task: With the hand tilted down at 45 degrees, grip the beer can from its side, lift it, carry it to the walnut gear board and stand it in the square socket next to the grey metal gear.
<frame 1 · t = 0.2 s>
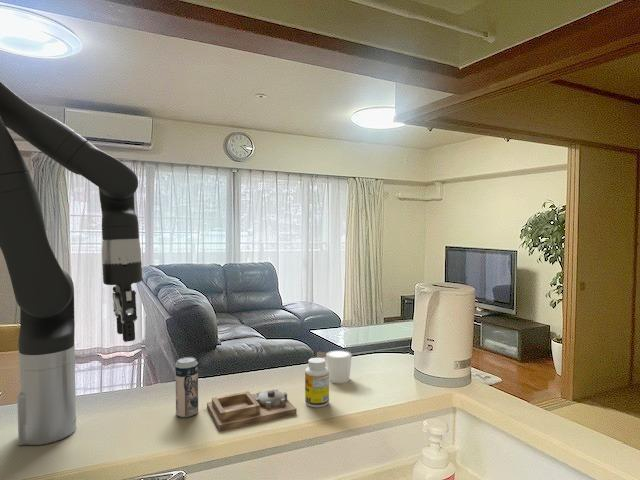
hand: (125, 337, 88), 18 cm above the worktop, tool pointing down, fingers open, 8 cm apart
white cup: (338, 380, 113), on the worktop
gear board: (251, 410, 93), on the worktop
supplement bottle: (317, 404, 97), on the worktop
beer can: (187, 414, 92), on the worktop
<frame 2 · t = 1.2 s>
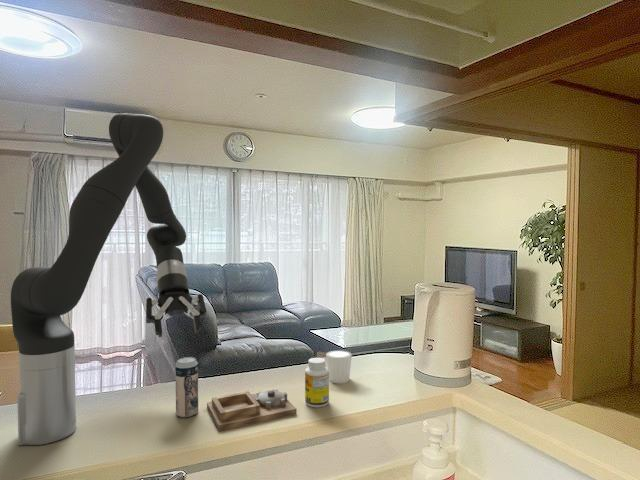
hand: (179, 333, 101), 15 cm above the worktop, tool tilted 45°, fingers open, 8 cm apart
nothing on the worktop moved.
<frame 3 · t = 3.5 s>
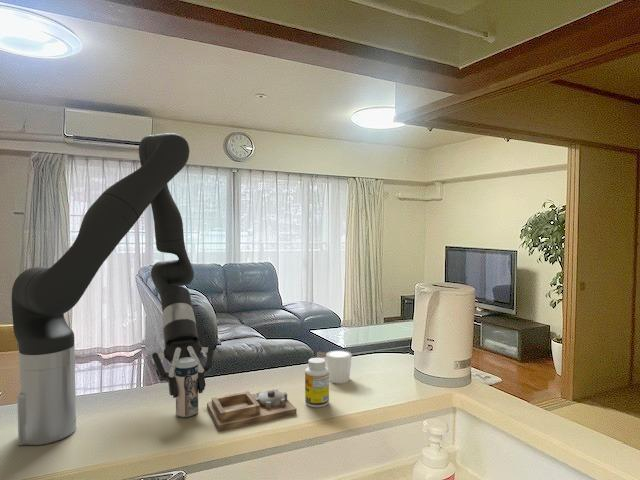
hand: (188, 393, 90), 5 cm above the worktop, tool tilted 45°, fingers closed on beer can, 4 cm apart
beer can: (187, 414, 92), on the worktop, touching gripper
everything else where it was.
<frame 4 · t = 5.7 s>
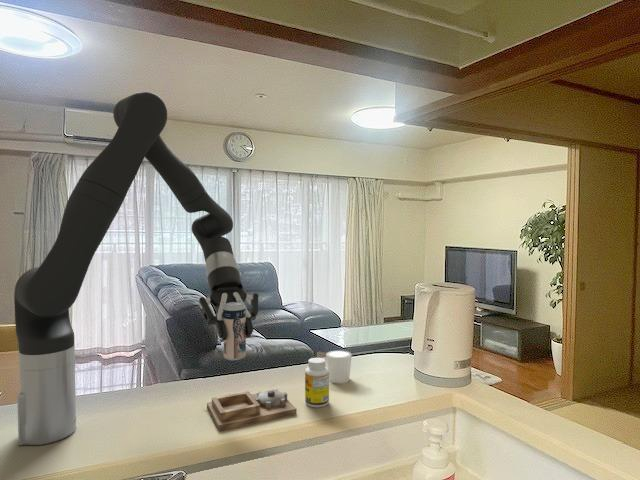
hand: (237, 336, 90), 18 cm above the worktop, tool tilted 45°, fingers closed on beer can, 4 cm apart
beer can: (234, 358, 91), point 12 cm above the worktop, touching gripper
everything else where it was.
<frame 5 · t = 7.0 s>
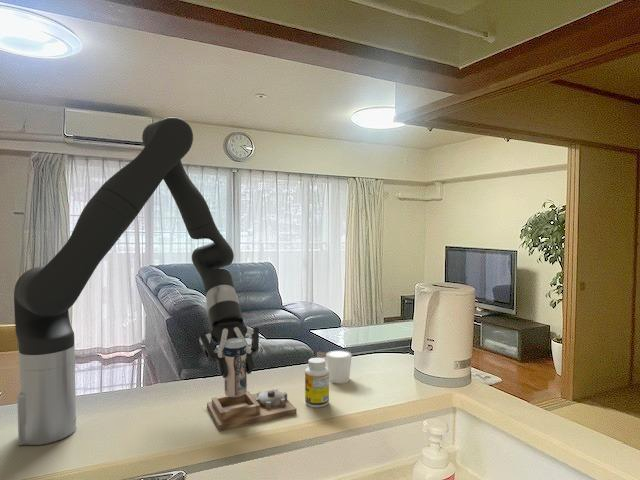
hand: (237, 373, 90), 9 cm above the worktop, tool tilted 45°, fingers closed on beer can, 4 cm apart
beer can: (235, 395, 92), point 4 cm above the worktop, touching gripper
everything else where it was.
when the fingers open (8 cm above the worktop, at t = 8.2 s): beer can drops 2 cm, resting on gear board.
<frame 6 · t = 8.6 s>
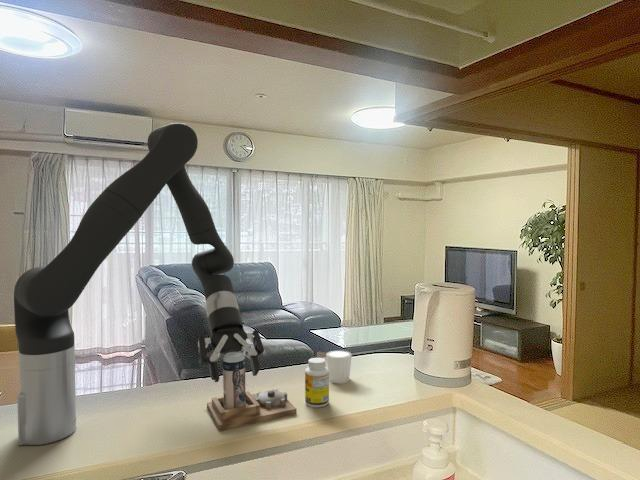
hand: (237, 377, 90), 9 cm above the worktop, tool tilted 45°, fingers open, 8 cm apart
beer can: (234, 409, 92), point 1 cm above the worktop, touching gear board
everything else where it was.
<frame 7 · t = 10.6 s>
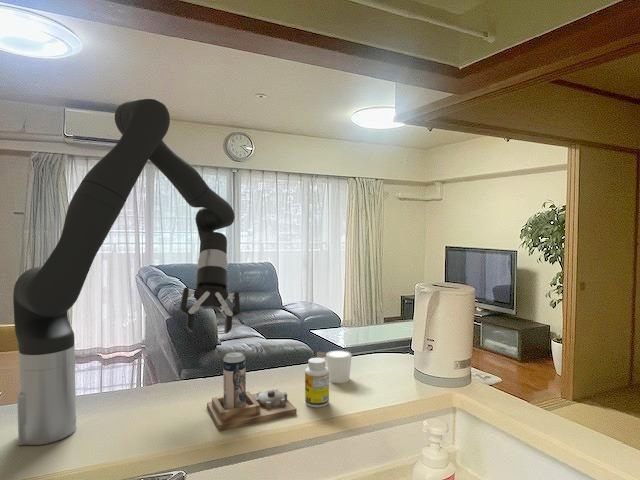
hand: (209, 331, 100), 16 cm above the worktop, tool tilted 30°, fingers open, 8 cm apart
nothing on the worktop moved.
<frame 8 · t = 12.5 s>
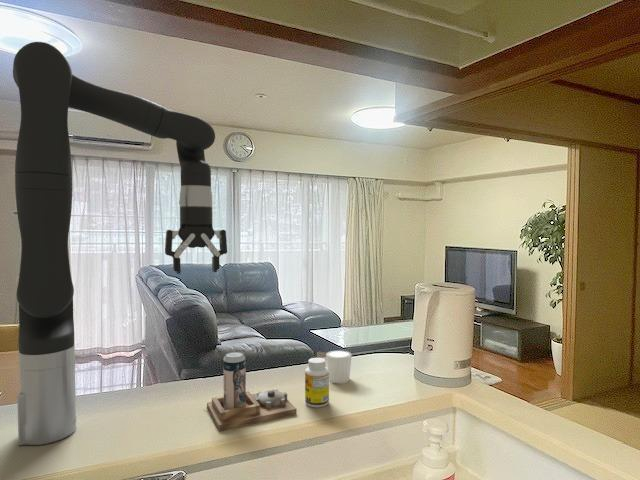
hand: (196, 272, 101), 30 cm above the worktop, tool pointing down, fingers open, 8 cm apart
nothing on the worktop moved.
at the end: beer can 0.2 cm from the target spot on the gear board, point 1.0 cm above the gear board's base; beer can tilted 0°; the gripper is holding nothing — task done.
